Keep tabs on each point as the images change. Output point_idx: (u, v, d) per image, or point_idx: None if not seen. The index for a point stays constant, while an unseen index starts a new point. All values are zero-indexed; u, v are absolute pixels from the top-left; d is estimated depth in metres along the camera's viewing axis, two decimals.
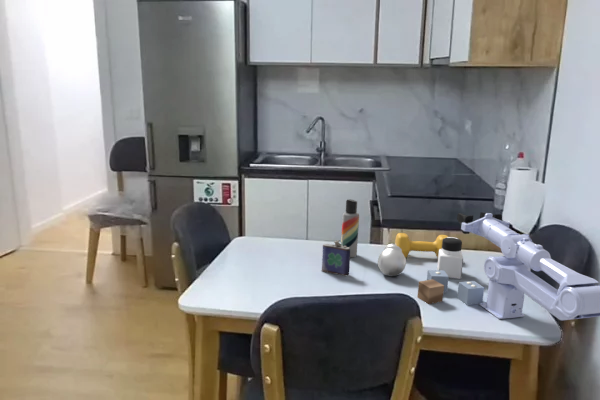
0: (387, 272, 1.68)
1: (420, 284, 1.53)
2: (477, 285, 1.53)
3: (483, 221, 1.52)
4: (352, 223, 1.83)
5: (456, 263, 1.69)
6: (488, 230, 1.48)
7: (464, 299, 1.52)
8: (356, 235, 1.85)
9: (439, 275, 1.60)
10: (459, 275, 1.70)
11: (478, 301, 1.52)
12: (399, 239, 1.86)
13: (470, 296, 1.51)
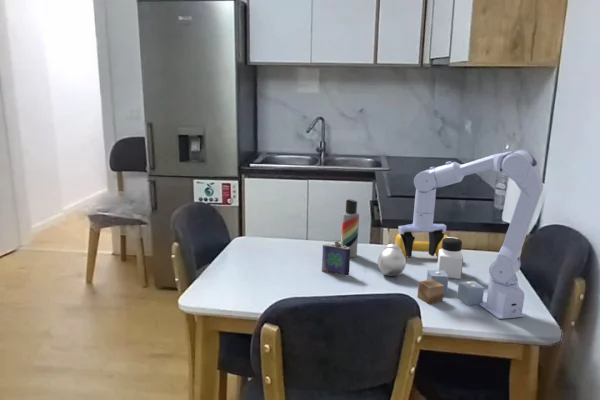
0: (387, 272, 1.68)
1: (420, 284, 1.53)
2: (477, 285, 1.53)
3: None
4: (352, 223, 1.83)
5: (456, 263, 1.69)
6: (414, 210, 1.56)
7: (464, 299, 1.52)
8: (356, 235, 1.85)
9: (439, 275, 1.60)
10: (459, 275, 1.70)
11: (478, 301, 1.52)
12: (399, 239, 1.85)
13: (470, 296, 1.51)
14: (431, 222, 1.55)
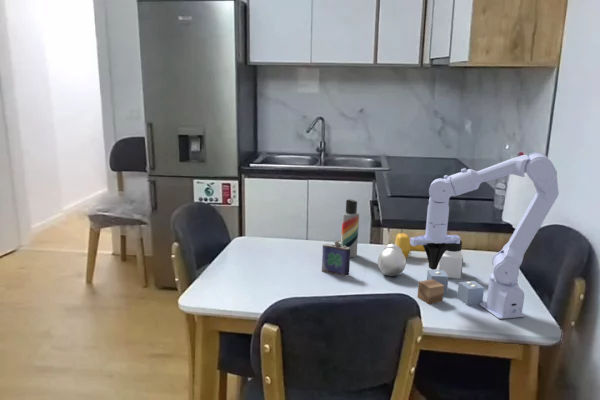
0: (387, 272, 1.68)
1: (420, 284, 1.53)
2: (477, 285, 1.53)
3: None
4: (352, 223, 1.83)
5: (456, 263, 1.69)
6: None
7: (464, 299, 1.52)
8: (356, 235, 1.85)
9: (439, 275, 1.60)
10: (459, 275, 1.70)
11: (478, 301, 1.52)
12: (399, 239, 1.85)
13: (470, 296, 1.51)
14: (445, 233, 1.48)
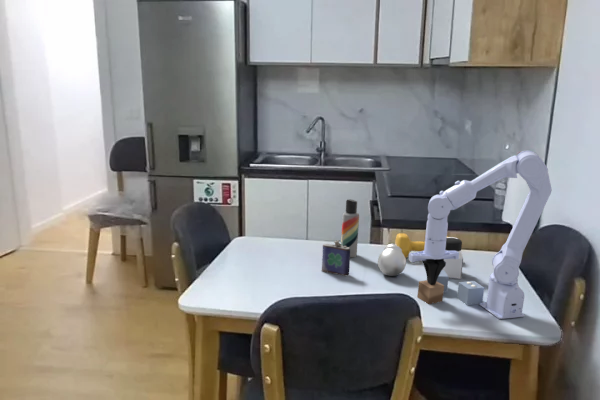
0: (387, 272, 1.68)
1: (420, 284, 1.53)
2: (477, 285, 1.53)
3: None
4: (352, 223, 1.83)
5: (456, 263, 1.69)
6: (425, 237, 1.50)
7: (464, 299, 1.52)
8: (356, 235, 1.85)
9: (439, 275, 1.60)
10: (459, 275, 1.70)
11: (478, 301, 1.52)
12: (399, 239, 1.85)
13: (470, 296, 1.51)
14: (443, 249, 1.48)
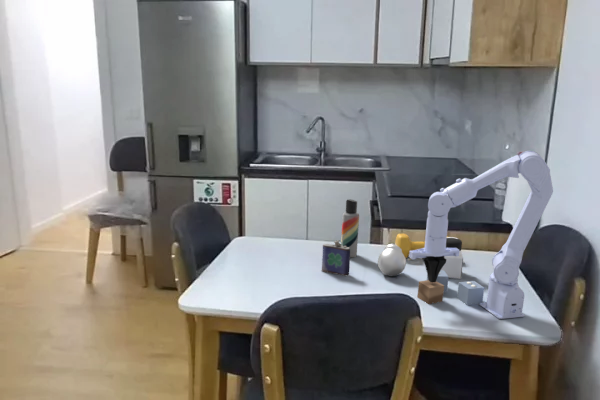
0: (387, 272, 1.68)
1: (420, 284, 1.53)
2: (477, 285, 1.53)
3: None
4: (352, 223, 1.83)
5: (456, 263, 1.69)
6: None
7: (464, 299, 1.52)
8: (356, 235, 1.85)
9: (439, 275, 1.60)
10: (459, 275, 1.70)
11: (478, 301, 1.52)
12: (400, 240, 1.85)
13: (470, 296, 1.51)
14: (444, 247, 1.48)
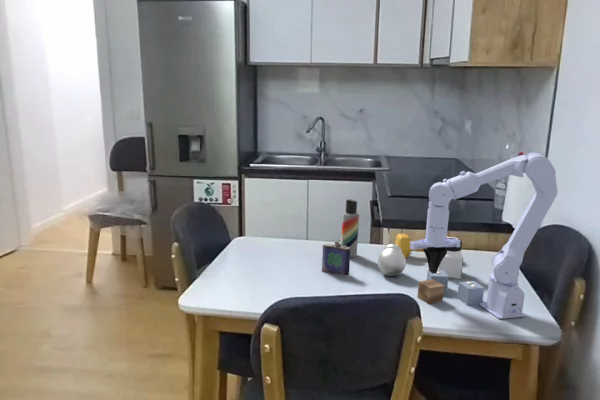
0: (387, 272, 1.68)
1: (420, 284, 1.53)
2: (477, 285, 1.53)
3: None
4: (352, 223, 1.83)
5: (456, 263, 1.69)
6: None
7: (464, 299, 1.52)
8: (356, 235, 1.85)
9: (439, 275, 1.60)
10: (459, 275, 1.70)
11: (478, 301, 1.52)
12: (400, 240, 1.85)
13: (470, 296, 1.51)
14: (445, 237, 1.48)
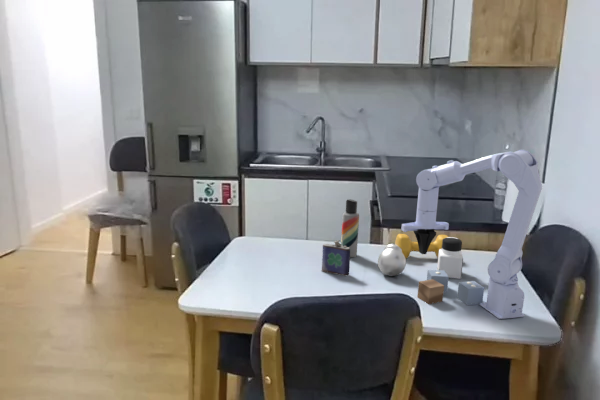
0: (387, 272, 1.68)
1: (420, 284, 1.53)
2: (477, 285, 1.53)
3: None
4: (352, 223, 1.83)
5: (456, 263, 1.69)
6: (417, 208, 1.58)
7: (464, 299, 1.52)
8: (356, 235, 1.85)
9: (439, 275, 1.60)
10: (459, 275, 1.70)
11: (478, 301, 1.52)
12: (400, 240, 1.85)
13: (470, 296, 1.51)
14: (434, 220, 1.57)
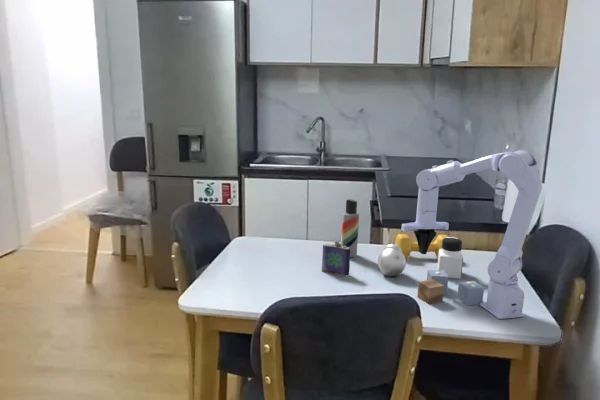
0: (387, 272, 1.68)
1: (420, 284, 1.53)
2: (477, 285, 1.53)
3: None
4: (352, 223, 1.83)
5: (456, 263, 1.69)
6: (417, 208, 1.58)
7: (464, 299, 1.52)
8: (356, 235, 1.85)
9: (439, 275, 1.60)
10: (459, 275, 1.70)
11: (478, 301, 1.52)
12: (400, 240, 1.85)
13: (470, 296, 1.51)
14: (434, 220, 1.57)
